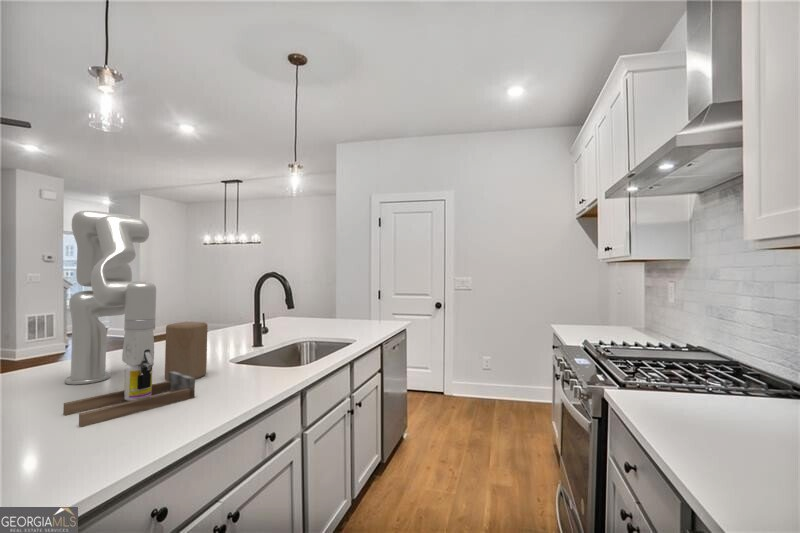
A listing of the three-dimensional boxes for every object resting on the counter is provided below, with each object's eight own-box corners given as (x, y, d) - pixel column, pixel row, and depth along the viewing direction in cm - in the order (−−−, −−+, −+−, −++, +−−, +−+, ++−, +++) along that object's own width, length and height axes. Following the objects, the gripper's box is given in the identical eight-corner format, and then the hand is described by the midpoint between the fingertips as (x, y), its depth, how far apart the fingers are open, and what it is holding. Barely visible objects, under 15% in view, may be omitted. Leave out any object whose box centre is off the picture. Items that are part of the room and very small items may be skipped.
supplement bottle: (156, 396, 113) (157, 353, 113) (133, 403, 107) (134, 357, 107) (142, 393, 116) (143, 350, 116) (118, 399, 110) (120, 355, 110)
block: (187, 382, 133) (189, 325, 133) (163, 380, 135) (164, 324, 135) (207, 375, 143) (208, 322, 143) (184, 373, 145) (185, 321, 145)
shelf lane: (63, 414, 103) (63, 392, 103) (172, 389, 126) (173, 370, 126) (80, 427, 95) (81, 402, 95) (194, 397, 118) (194, 378, 118)
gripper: (113, 323, 114) (111, 383, 113) (138, 329, 104) (136, 395, 104) (141, 321, 120) (139, 377, 120) (167, 326, 110) (166, 388, 110)
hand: (138, 385), depth 112 cm, fingers closed on supplement bottle, 6 cm apart
